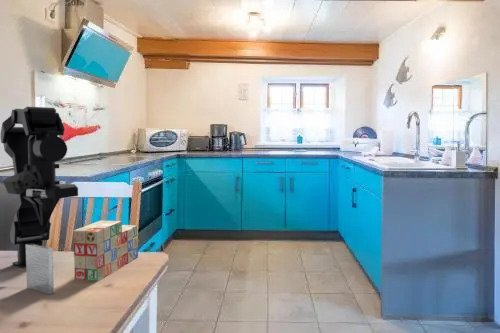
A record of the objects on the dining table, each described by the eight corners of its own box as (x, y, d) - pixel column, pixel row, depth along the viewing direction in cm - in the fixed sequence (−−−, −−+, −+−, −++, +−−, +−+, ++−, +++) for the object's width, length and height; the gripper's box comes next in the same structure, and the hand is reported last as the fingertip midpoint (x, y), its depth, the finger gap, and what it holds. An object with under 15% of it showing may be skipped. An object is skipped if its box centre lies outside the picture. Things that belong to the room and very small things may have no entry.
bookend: (26, 288, 96) (25, 244, 96) (31, 286, 97) (29, 243, 96) (49, 294, 92) (48, 248, 92) (53, 293, 93) (52, 247, 92)
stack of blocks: (118, 256, 123) (117, 214, 122) (138, 257, 122) (137, 214, 121) (74, 280, 102) (72, 229, 101) (98, 282, 101) (96, 230, 100)
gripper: (-15, 160, 99) (-13, 226, 100) (34, 162, 90) (36, 235, 91) (30, 158, 109) (32, 219, 110) (78, 160, 100) (80, 226, 101)
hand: (43, 224), depth 103 cm, fingers closed
